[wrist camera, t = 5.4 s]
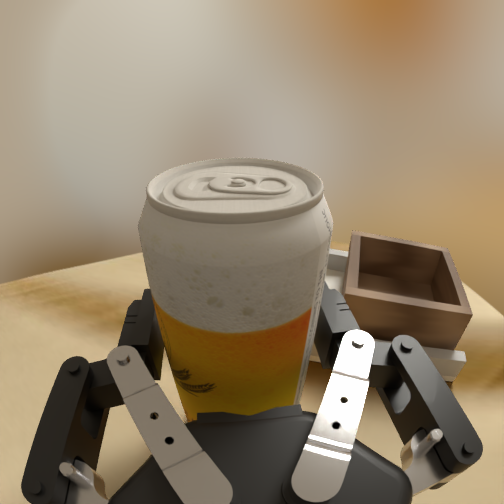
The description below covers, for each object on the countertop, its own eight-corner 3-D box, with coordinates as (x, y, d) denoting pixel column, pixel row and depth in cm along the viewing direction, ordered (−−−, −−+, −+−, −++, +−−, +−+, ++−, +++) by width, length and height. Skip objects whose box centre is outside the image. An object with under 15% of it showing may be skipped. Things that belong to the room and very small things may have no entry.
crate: (333, 341, 22) (344, 293, 20) (344, 272, 30) (352, 230, 27) (448, 359, 19) (472, 314, 17) (433, 288, 27) (447, 248, 25)
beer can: (203, 383, 20) (173, 155, 12) (293, 392, 19) (325, 159, 11) (183, 460, 15) (92, 216, 7) (289, 473, 14) (355, 229, 6)
